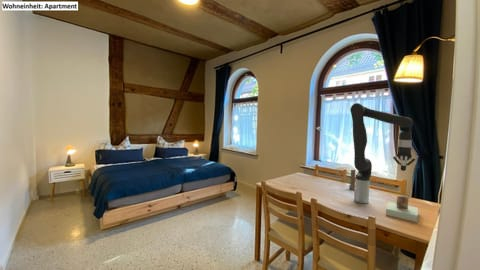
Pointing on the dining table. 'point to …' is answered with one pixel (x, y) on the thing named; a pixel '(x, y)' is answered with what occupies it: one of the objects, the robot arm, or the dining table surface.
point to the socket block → (402, 212)
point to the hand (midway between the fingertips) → (403, 170)
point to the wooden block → (352, 180)
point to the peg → (402, 202)
